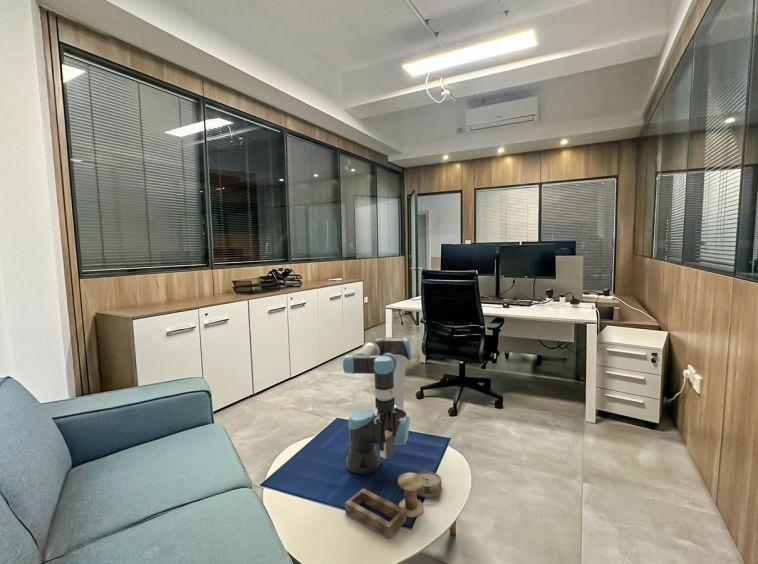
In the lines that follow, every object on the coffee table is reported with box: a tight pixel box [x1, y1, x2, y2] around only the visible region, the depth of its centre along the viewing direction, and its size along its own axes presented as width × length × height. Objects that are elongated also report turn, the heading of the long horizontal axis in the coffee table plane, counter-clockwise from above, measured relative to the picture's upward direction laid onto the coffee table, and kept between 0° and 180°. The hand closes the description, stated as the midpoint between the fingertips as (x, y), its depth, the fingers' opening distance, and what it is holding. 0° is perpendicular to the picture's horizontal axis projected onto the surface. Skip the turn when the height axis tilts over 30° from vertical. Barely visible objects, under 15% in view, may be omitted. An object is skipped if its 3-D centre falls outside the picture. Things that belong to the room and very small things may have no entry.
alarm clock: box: [416, 470, 442, 498], centre depth 143 cm, size 11×5×15 cm
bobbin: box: [397, 472, 424, 518], centre depth 132 cm, size 9×9×11 cm
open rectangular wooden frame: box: [344, 488, 407, 539], centre depth 129 cm, size 20×10×4 cm, turn 51°
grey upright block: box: [385, 430, 395, 460], centre depth 142 cm, size 4×4×9 cm
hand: (386, 454), depth 142 cm, fingers closed on grey upright block, 4 cm apart
